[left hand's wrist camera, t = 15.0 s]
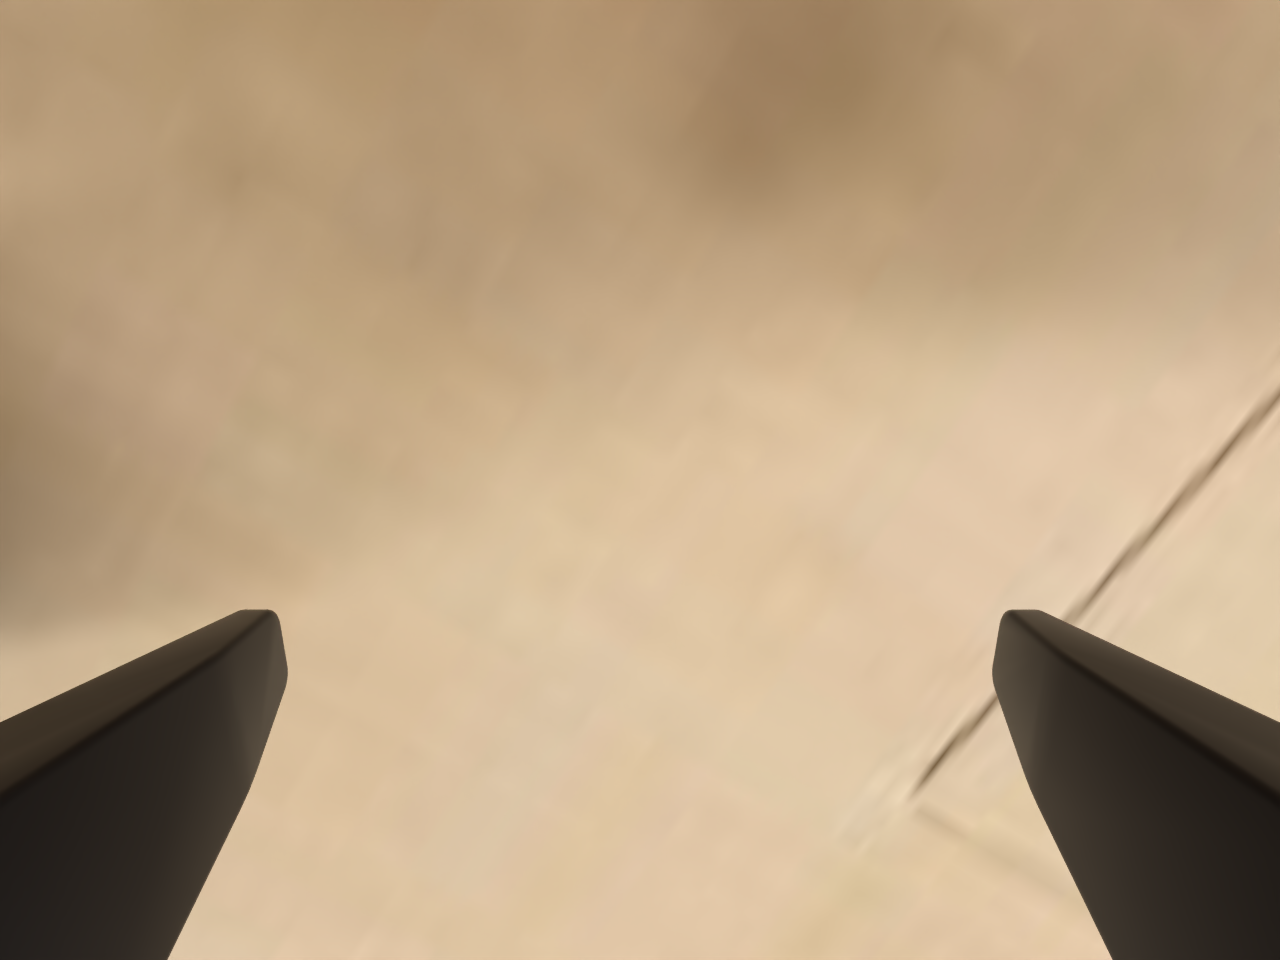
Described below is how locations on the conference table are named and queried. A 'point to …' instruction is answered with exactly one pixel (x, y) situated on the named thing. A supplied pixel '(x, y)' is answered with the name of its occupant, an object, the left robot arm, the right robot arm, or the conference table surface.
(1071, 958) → the conference table surface
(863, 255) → the conference table surface
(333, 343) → the conference table surface
